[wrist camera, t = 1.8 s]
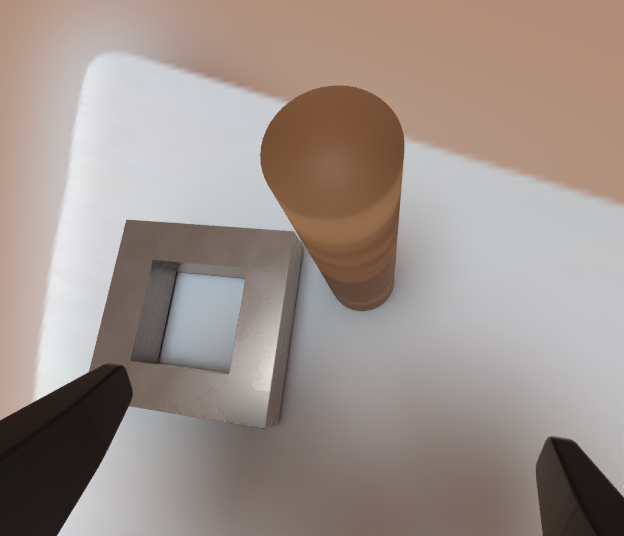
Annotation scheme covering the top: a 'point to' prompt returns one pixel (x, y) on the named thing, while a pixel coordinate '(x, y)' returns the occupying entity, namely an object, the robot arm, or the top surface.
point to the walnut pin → (340, 186)
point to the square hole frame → (250, 331)
